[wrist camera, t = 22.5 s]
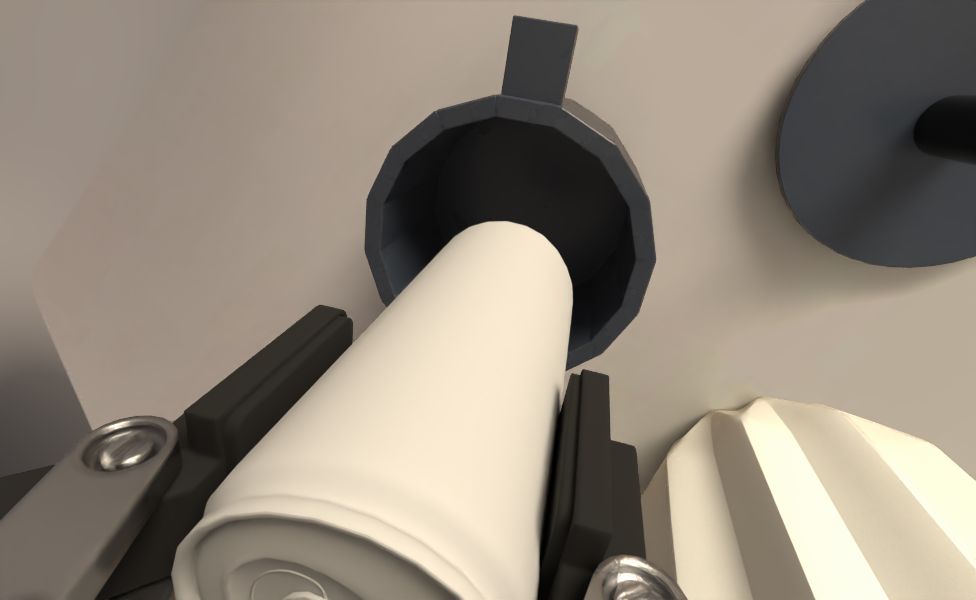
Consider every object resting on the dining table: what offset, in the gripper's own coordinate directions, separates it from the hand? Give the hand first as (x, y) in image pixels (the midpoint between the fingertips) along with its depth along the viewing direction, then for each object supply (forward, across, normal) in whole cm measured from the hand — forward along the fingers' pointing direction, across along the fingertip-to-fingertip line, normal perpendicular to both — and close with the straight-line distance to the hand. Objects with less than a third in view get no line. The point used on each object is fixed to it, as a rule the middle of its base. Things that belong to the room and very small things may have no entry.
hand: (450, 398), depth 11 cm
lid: (+19, -17, -7) cm, 27 cm away
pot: (+19, +1, +1) cm, 19 cm away
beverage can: (+7, 0, 0) cm, 7 cm away
